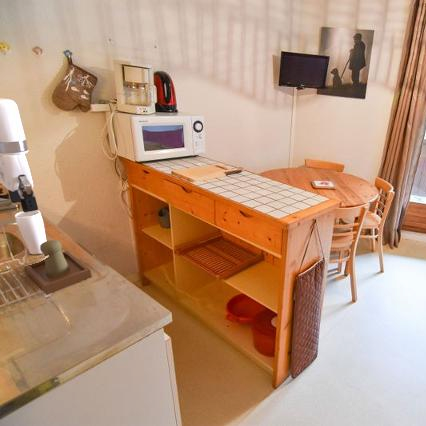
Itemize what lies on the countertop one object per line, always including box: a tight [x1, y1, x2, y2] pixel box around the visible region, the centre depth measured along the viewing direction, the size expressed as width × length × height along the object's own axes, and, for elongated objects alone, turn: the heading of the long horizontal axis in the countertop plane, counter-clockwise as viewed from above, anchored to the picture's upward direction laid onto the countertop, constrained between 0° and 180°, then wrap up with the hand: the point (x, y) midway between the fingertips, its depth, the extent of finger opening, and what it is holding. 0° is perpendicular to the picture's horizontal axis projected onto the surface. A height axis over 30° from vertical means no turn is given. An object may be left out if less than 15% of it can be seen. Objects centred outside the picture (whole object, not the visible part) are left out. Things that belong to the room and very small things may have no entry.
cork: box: [40, 239, 70, 277], centre depth 101 cm, size 6×6×11 cm
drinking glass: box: [14, 210, 47, 256], centre depth 112 cm, size 7×7×15 cm
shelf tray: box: [23, 250, 93, 295], centre depth 103 cm, size 18×12×3 cm, turn 55°
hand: (24, 206), depth 91 cm, fingers open, 9 cm apart
